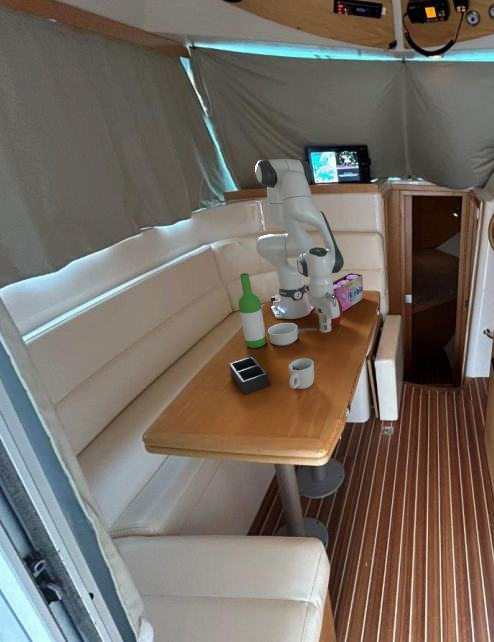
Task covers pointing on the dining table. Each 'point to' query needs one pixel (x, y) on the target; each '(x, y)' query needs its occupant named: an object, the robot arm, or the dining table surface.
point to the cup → (301, 373)
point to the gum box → (348, 290)
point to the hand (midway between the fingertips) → (324, 320)
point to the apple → (337, 320)
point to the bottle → (251, 315)
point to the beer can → (323, 322)
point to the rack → (249, 374)
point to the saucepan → (285, 333)
